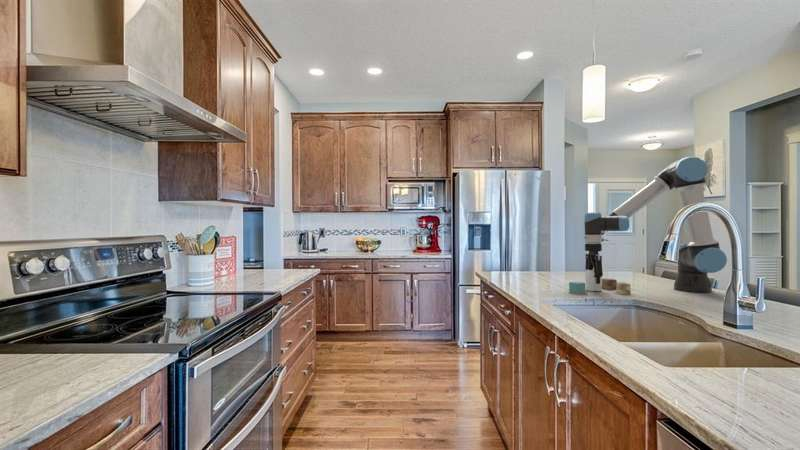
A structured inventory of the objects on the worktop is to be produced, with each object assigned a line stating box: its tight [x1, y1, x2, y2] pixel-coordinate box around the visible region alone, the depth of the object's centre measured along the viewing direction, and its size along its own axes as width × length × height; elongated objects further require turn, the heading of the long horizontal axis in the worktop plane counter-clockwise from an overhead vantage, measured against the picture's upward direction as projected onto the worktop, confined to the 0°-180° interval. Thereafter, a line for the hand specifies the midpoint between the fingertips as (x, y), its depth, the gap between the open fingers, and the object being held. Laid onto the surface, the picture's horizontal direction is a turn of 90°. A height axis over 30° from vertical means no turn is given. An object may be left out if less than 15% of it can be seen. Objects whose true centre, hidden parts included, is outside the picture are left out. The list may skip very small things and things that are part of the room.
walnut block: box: [602, 278, 618, 291], centre depth 195 cm, size 5×5×5 cm
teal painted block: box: [568, 281, 586, 294], centre depth 185 cm, size 5×5×5 cm
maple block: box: [616, 281, 632, 295], centre depth 182 cm, size 5×5×5 cm
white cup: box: [584, 268, 603, 292], centre depth 190 cm, size 8×8×10 cm
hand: (593, 288), depth 190 cm, fingers closed on white cup, 7 cm apart
